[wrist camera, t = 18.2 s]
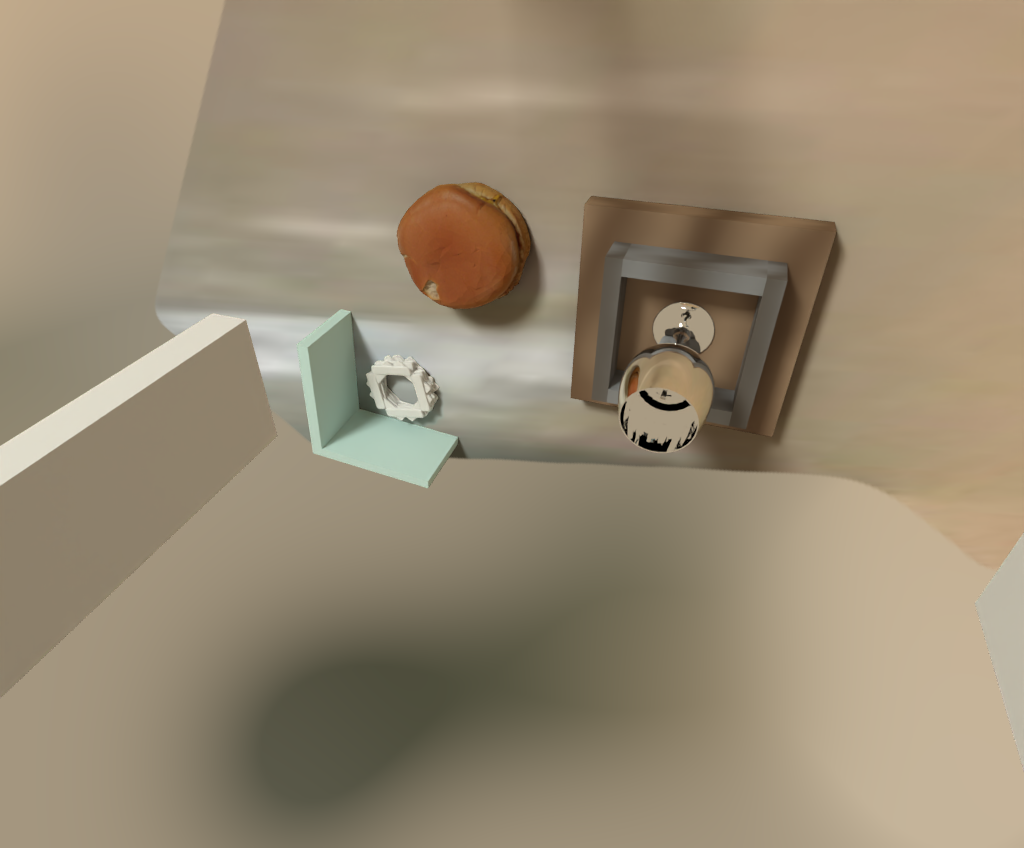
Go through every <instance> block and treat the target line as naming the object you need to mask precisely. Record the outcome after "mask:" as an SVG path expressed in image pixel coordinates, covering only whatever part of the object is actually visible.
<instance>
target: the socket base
mask: <svg viewBox="0 0 1024 848" xmlns="http://www.w3.org/2000/svg"><path fill="white" fill-rule="evenodd" d="M835 236H836V227H835V222H828V221H819V220H810V219H800V218H791V217H782V216H772V215H763V214H754V213H744V212H735V211H726V210H717V209H707V208H698V207H689V206H679V205H670V204H661V203H651V202H642V201H633V200H624V199H614V198H605V197H596V196H591V197H590V198H589V200H588V201H587V202H586V203H585V206H584V220H583V234H582V248H581V261H580V275H579V289H578V303H577V317H576V331H575V345H574V359H573V373H572V386H571V398H574V399H579V400H584V401H589V402H595V403H600V404H605V405H610V406H615V407H618V392H619V386H620V382H621V379H622V376H623V373H624V371H625V369H626V367H627V366H628V364H629V363H630V362H631V360H632V359H633V358H634V357H635V356H636V355H637V354H638V353H640V352H641V351H642V350H644V349H646V348H648V347H650V346H652V345H656V344H657V343H656V341H655V339H654V337H653V332H652V325H653V321H654V318H655V316H656V315H657V313H658V312H659V311H660V310H661V309H662V308H664V307H665V306H667V305H669V304H671V303H674V302H680V301H686V302H692V303H695V304H698V305H700V306H701V307H703V308H704V309H706V310H707V311H708V313H709V314H710V315H711V317H712V319H713V321H714V325H715V335H714V339H713V341H712V342H711V344H710V345H709V347H708V348H707V349H705V350H704V351H703V352H701V353H699V355H700V356H702V357H703V358H704V360H705V361H706V362H707V364H708V365H709V367H710V369H711V372H712V374H713V379H714V386H715V394H714V400H713V405H712V408H711V410H710V413H709V416H708V418H707V420H706V422H705V424H708V425H713V426H718V427H723V428H729V429H734V430H739V431H744V432H749V433H754V434H759V435H765V436H770V437H772V436H773V433H774V430H775V426H776V423H777V420H778V417H779V414H780V410H781V407H782V404H783V401H784V398H785V395H786V391H787V388H788V385H789V382H790V379H791V376H792V372H793V369H794V366H795V363H796V360H797V356H798V353H799V350H800V347H801V344H802V341H803V337H804V334H805V331H806V328H807V325H808V321H809V318H810V315H811V312H812V309H813V306H814V302H815V299H816V296H817V293H818V290H819V286H820V283H821V280H822V277H823V274H824V271H825V267H826V264H827V261H828V258H829V255H830V251H831V248H832V245H833V242H834V239H835Z"/></svg>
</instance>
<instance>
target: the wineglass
mask: <svg viewBox="0 0 1024 848" xmlns="http://www.w3.org/2000/svg"><path fill="white" fill-rule="evenodd" d="M652 332H653V337H654V339H655V341H656V343H657V344H656V345H652V346H650V347H648V348H646V349H644V350H642V351H641V352H640V353H638V354H637V355H636V356H635V357H634V358H633V359H632V360H631V362H630V363H629V364H628V366H627V367H626V369H625V371H624V373H623V376H622V379H621V382H620V386H619V392H618V414H619V423H620V427H621V429H622V431H623V433H624V434H625V436H626V437H627V438H628V439H629V440H630V441H631V442H632V443H633V444H635V445H636V446H638V447H640V448H642V449H644V450H647V451H650V452H655V453H670V452H675V451H678V450H680V449H683V448H684V447H686V446H687V445H689V444H690V443H691V442H692V440H693V439H694V438H695V437H696V436H697V434H698V433H699V431H700V430H701V428H702V427H703V425H704V424H705V422H706V420H707V418H708V416H709V413H710V410H711V408H712V405H713V400H714V394H715V386H714V379H713V374H712V372H711V369H710V367H709V365H708V364H707V362H706V361H705V360H704V358H703V357H702V356H700V355H699V353H701V352H703V351H704V350H705V349H707V348H708V347H709V345H710V344H711V342H712V341H713V339H714V335H715V325H714V321H713V319H712V317H711V315H710V314H709V313H708V311H707V310H706V309H704V308H703V307H701V306H700V305H698V304H695V303H692V302H686V301H680V302H674V303H671V304H669V305H667V306H665V307H664V308H662V309H661V310H660V311H659V312H658V313H657V315H656V316H655V318H654V321H653V325H652Z"/></svg>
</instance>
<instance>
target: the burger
mask: <svg viewBox="0 0 1024 848" xmlns="http://www.w3.org/2000/svg"><path fill="white" fill-rule="evenodd" d="M397 237H398V247H399V250H400V252H401V254H402V255H403V257H404V259H405V263H406V266H407V268H408V271H409V273H410V275H411V277H412V279H413V281H414V283H415V284H416V286H417V287H418V288H419V290H420V291H421V292H422V293H423V294H425V295H426V296H428V297H429V298H430V299H432V300H433V301H435V302H437V303H438V304H440V305H443V306H447V307H450V308H453V309H470V308H476V307H479V306H483V305H485V304H488V303H490V302H492V301H493V300H495V299H497V298H501V297H503V296H505V295H507V294H508V293H509V291H511V290H512V289H513V288H514V286H516V285H517V284H519V283H518V282H519V280H520V278H521V275H522V271H523V268H524V265H525V262H526V259H527V257H528V255H529V251H530V245H531V243H530V237H529V233H528V229H527V226H526V224H525V222H524V219H523V217H522V216H521V214H520V212H519V211H518V209H517V208H516V206H514V205H513V204H512V203H511V202H510V200H508V199H507V198H506V197H504V196H503V195H502V194H501V193H499V192H498V191H496V190H494V189H492V188H490V187H489V186H487V185H485V184H482V183H476V182H475V183H463V184H446V185H439V186H437V187H435V188H433V189H432V190H430V191H428V192H427V193H426V194H424V195H423V196H422V197H420V198H419V199H418V200H417V201H416V202H415V203H414V204H413V205H412V206H411V207H410V208H409V209H408V210H407V212H406V213H405V215H404V216H403V218H402V219H401V222H400V224H399V227H398V230H397Z"/></svg>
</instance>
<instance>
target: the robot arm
mask: <svg viewBox="0 0 1024 848" xmlns="http://www.w3.org/2000/svg"><path fill="white" fill-rule="evenodd" d="M276 437H277V432H276V428H275V425H274V421H273V417H272V414H271V410H270V406H269V403H268V399H267V395H266V392H265V388H264V384H263V381H262V377H261V373H260V370H259V366H258V362H257V359H256V355H255V351H254V348H253V344H252V340H251V337H250V333H249V329H248V325H247V322H246V320H245V319H239V318H234V317H228V316H223V315H218V314H211V315H209V316H208V317H206V318H204V319H203V320H201V321H200V322H198V323H196V324H195V325H193V326H192V327H190V328H188V329H187V330H185V331H184V332H182V333H180V334H179V335H177V336H176V337H174V338H173V339H171V340H169V341H168V342H166V343H165V344H163V345H161V346H160V347H158V348H156V349H155V350H153V351H152V352H150V353H148V354H147V355H145V356H144V357H142V358H140V359H139V360H137V361H136V362H134V363H132V364H131V365H129V366H128V367H126V368H124V369H123V370H121V371H120V372H118V373H116V374H115V375H113V376H112V377H110V378H108V379H107V380H105V381H104V382H102V383H100V384H99V385H97V386H96V387H94V388H92V389H91V390H89V391H88V392H86V393H85V394H83V395H81V396H80V397H78V398H76V399H75V400H73V401H72V402H70V403H68V404H67V405H65V406H64V407H62V408H60V409H59V410H57V411H56V412H54V413H52V414H51V415H49V416H48V417H46V418H45V419H43V420H41V421H40V422H38V423H37V424H35V425H33V426H32V427H30V428H29V429H27V430H26V431H24V432H22V433H20V434H19V435H17V436H16V437H14V438H12V439H11V440H9V441H8V442H6V443H4V444H3V445H1V446H0V698H1V697H2V696H3V695H4V694H5V693H7V692H8V691H9V690H10V689H11V688H12V687H13V686H14V685H15V684H16V683H17V682H18V681H19V680H20V679H21V678H22V677H23V676H25V674H27V673H28V672H29V671H30V670H31V669H32V668H33V667H34V666H35V665H36V664H37V663H38V662H39V661H40V660H41V659H42V658H44V656H46V655H47V654H48V653H49V652H50V651H51V650H52V649H53V648H54V647H55V646H56V645H57V644H58V643H59V642H60V641H61V640H62V639H64V638H65V637H66V636H67V635H68V634H69V633H70V632H71V631H72V630H73V629H74V628H75V627H76V626H77V625H78V624H79V623H81V621H83V620H84V619H85V618H86V617H87V616H88V615H89V614H90V613H91V612H92V611H93V610H94V609H95V608H96V607H97V606H98V605H100V604H101V603H102V602H103V601H104V600H105V599H106V598H107V597H108V596H109V595H110V594H111V593H112V592H113V591H114V590H115V589H116V588H118V587H119V586H120V585H121V584H122V583H123V582H124V581H125V580H126V579H127V578H128V577H129V576H130V575H131V574H132V573H133V572H134V571H135V570H136V569H138V568H139V567H140V566H141V565H142V564H143V563H144V562H145V561H146V560H147V559H148V558H149V557H150V556H151V555H152V554H153V553H154V552H156V551H157V550H158V549H159V548H160V547H161V546H162V545H163V544H164V543H165V542H166V541H167V540H168V539H169V538H170V537H171V536H172V535H174V534H175V533H176V532H177V531H178V530H179V529H180V528H181V527H182V526H183V525H184V524H185V523H186V522H187V521H188V520H189V519H190V518H191V517H192V516H194V515H195V514H196V513H197V512H198V511H199V510H200V509H201V508H202V507H203V506H204V505H205V504H206V503H207V502H208V501H209V500H210V499H212V498H213V497H214V496H215V495H216V494H217V493H218V492H219V491H220V490H221V489H222V488H223V487H224V486H225V485H226V484H227V483H228V482H230V481H231V480H232V479H233V478H234V477H235V476H236V475H237V474H238V473H239V472H240V471H241V470H242V469H243V468H244V467H245V466H246V465H248V464H249V463H250V462H251V461H252V460H253V459H254V458H255V457H256V456H257V455H258V454H259V453H260V452H261V451H262V450H263V449H264V448H265V447H267V445H269V444H270V443H271V442H272V441H273V440H274V439H275V438H276ZM975 605H976V609H977V613H978V616H979V619H980V623H981V626H982V630H983V633H984V637H985V640H986V643H987V647H988V650H989V654H990V657H991V661H992V664H993V667H994V671H995V674H996V678H997V681H998V685H999V688H1000V692H1001V695H1002V698H1003V702H1004V705H1005V708H1006V712H1007V715H1008V719H1009V722H1010V726H1011V729H1012V733H1013V736H1014V740H1015V743H1016V746H1017V749H1018V753H1019V757H1020V760H1021V763H1022V767H1023V770H1024V533H1023V534H1022V536H1021V537H1020V539H1019V540H1018V542H1017V543H1016V545H1015V546H1014V547H1013V549H1012V550H1011V552H1010V553H1009V555H1008V556H1007V558H1006V559H1005V560H1004V562H1003V563H1002V565H1001V566H1000V568H999V569H998V571H997V572H996V573H995V575H994V576H993V578H992V579H991V581H990V582H989V584H988V585H987V587H986V588H985V590H984V591H983V592H982V594H981V595H980V597H979V598H978V600H977V601H976V602H975Z"/></svg>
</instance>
